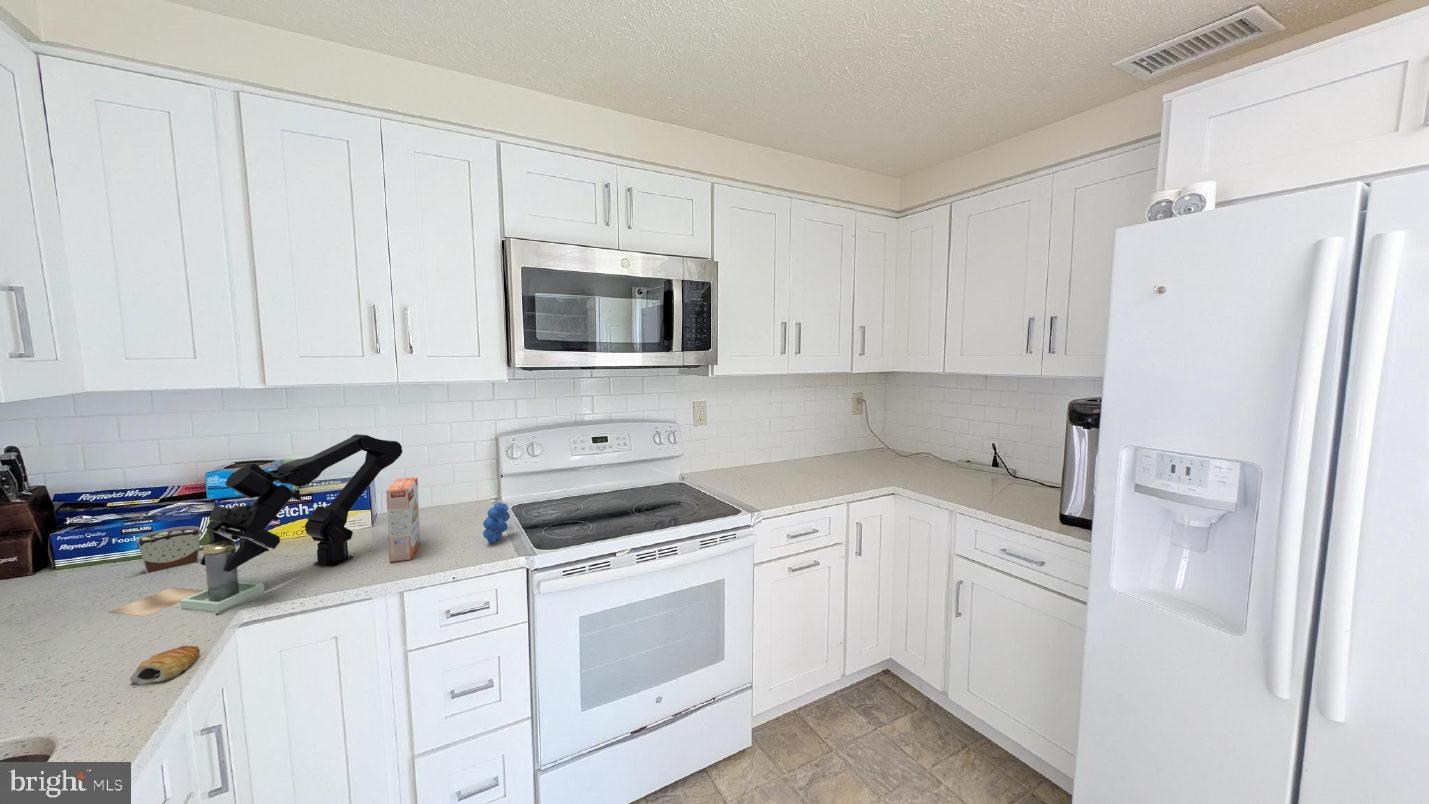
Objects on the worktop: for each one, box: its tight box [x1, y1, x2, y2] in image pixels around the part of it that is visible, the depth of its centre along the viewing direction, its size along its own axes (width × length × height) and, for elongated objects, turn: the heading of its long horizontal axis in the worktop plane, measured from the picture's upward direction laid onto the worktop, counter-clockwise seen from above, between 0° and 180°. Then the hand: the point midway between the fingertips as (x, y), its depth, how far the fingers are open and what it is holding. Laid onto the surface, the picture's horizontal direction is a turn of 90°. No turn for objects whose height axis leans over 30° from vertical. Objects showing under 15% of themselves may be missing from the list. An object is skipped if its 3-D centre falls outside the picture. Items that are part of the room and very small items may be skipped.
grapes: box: [482, 501, 511, 544], centre depth 158 cm, size 12×7×12 cm, turn 168°
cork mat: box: [107, 587, 206, 617], centre depth 118 cm, size 12×10×1 cm
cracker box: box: [386, 477, 421, 563], centre depth 147 cm, size 14×6×21 cm, turn 22°
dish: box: [180, 581, 265, 616], centre depth 119 cm, size 10×10×2 cm
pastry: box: [129, 645, 201, 685], centre depth 94 cm, size 9×7×4 cm
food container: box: [134, 525, 204, 574], centre depth 137 cm, size 12×6×10 cm, turn 141°
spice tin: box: [203, 540, 240, 602], centre depth 118 cm, size 5×5×13 cm
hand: (214, 567), depth 117 cm, fingers open, 9 cm apart
